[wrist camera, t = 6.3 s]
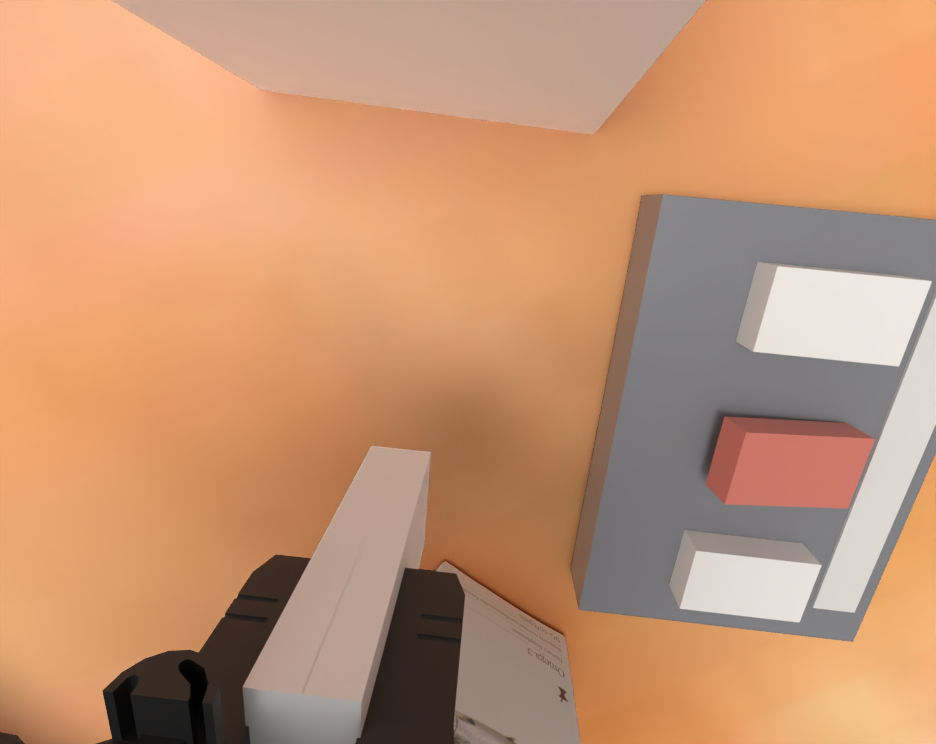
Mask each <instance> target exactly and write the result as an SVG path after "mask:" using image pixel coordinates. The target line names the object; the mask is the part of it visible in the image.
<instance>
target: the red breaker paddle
mask: <svg viewBox="0 0 936 744" xmlns="http://www.w3.org/2000/svg"><path fill="white" fill-rule="evenodd" d="M874 441H875V438H873V437H871V436H869V435H867V434H865V433H864V432H862V431H860V430H858V429H856V428H854V427H852V426H851V425H849V424H847V423H839V422H820V421H801V420H782V419H763V418H744V417H725V416H724V420H723V423H722V427H721V431H720V434H719V438H718V441H717V445H716V449H715V452H714V456H713V459H712V463H711V466H710V470H709V474H708V477H707V481H706V484H705V485H706V486H707V487H708V488H709V489H710V490H711V491H712V492H713V493H714V494H715V495H716V496H717V497H718V498H719V499H720V500H721V501H722V502H723V503H724V504H726V505H756V506H786V507H816V508H846V509H848V507H849V505H850V502H851V500H852V497H853V495H854V492H855V490H856V487H857V484H858V482H859V479H860V477H861V474H862V472H863V469H864V467H865V464H866V461H867V459H868V456H869V454H870V451H871V449H872V446H873V444H874Z"/></svg>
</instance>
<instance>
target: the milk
mask: <svg viewBox="0 0 936 744" xmlns="http://www.w3.org/2000/svg"><path fill="white" fill-rule="evenodd" d="M112 1H113V2H115V3H117V4H118V5H120V6H122V7H123V8H125V9H127V10H128V11H130V12H131V13H133V14H135V15H136V16H138V17H140V18H141V19H143V20H145V21H146V22H148V23H150V24H151V25H153V26H155V27H156V28H158V29H160V30H161V31H163V32H165V33H166V34H168V35H170V36H171V37H173V38H175V39H176V40H178V41H180V42H181V43H183V44H185V45H186V46H188V47H190V48H191V49H193V50H195V51H196V52H198V53H200V54H201V55H203V56H205V57H206V58H208V59H210V60H211V61H213V62H215V63H216V64H218V65H220V66H221V67H223V68H225V69H226V70H228V71H230V72H231V73H233V74H235V75H236V76H238V77H240V78H241V79H243V80H245V81H246V82H248V83H250V84H251V85H253V86H255V87H256V88H258V89H260V90H263V91H270V92H278V93H285V94H293V95H300V96H307V97H315V98H322V99H330V100H337V101H345V102H352V103H359V104H367V105H374V106H382V107H389V108H397V109H404V110H412V111H419V112H426V113H434V114H441V115H449V116H456V117H464V118H471V119H478V120H486V121H493V122H501V123H508V124H516V125H523V126H530V127H538V128H545V129H553V130H560V131H568V132H575V133H582V134H590V135H594V134H595V133H596V132H597V130H598V129H599V128H600V127H601V126H602V124H603V123H604V122H605V121H606V120H607V118H608V117H609V116H610V115H611V114H612V112H613V111H614V110H615V109H616V108H617V106H618V105H619V104H620V103H621V102H622V101H623V99H624V98H625V97H626V96H627V95H628V93H629V92H630V91H631V90H632V89H633V87H634V86H635V85H636V84H637V83H638V81H639V80H640V79H641V78H642V77H643V75H644V74H645V73H646V72H647V71H648V69H649V68H650V67H651V66H652V65H653V63H654V62H655V61H656V60H657V59H658V57H659V56H660V55H661V54H662V53H663V51H664V50H665V49H666V48H667V47H668V46H669V44H670V43H671V42H672V41H673V40H674V38H675V37H676V36H677V35H678V34H679V32H680V31H681V30H682V29H683V28H684V26H685V25H686V24H687V23H688V22H689V20H690V19H691V18H692V17H693V16H694V14H695V13H696V12H697V11H698V10H699V8H700V7H701V6H702V5H703V4H704V2H705V1H706V0H112Z"/></svg>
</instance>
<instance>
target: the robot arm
mask: <svg viewBox="0 0 936 744" xmlns="http://www.w3.org/2000/svg"><path fill="white" fill-rule="evenodd" d="M430 460H431V452H427V451H418V450H408V449H399V448H390V447H381V446H371V447H370V449H369V451H368V453H367V454H366V456H365V458H364V460H363V462H362V464H361V466H360V468H359V470H358V471H357V473H356V475H355V477H354V479H353V481H352V483H351V485H350V486H349V488H348V490H347V492H346V494H345V496H344V498H343V500H342V501H341V503H340V505H339V507H338V509H337V511H336V513H335V515H334V516H333V518H332V520H331V522H330V524H329V526H328V528H327V530H326V531H325V533H324V535H323V537H322V539H321V541H320V543H319V545H318V546H317V548H316V550H315V552H314V554H313V556H312V558H311V559H310V558H301V557H292V556H284V555H275V556H273V557H272V558H271V559H269V560H268V561H267V562H266V563H264V564H263V565H262V566H260V567H259V568H258V569H256V570H255V571H254V572H253V573H252V574H251V576H250V577H249V579H248V580H247V582H246V583H245V585H244V586H243V588H242V589H241V591H240V592H239V594H238V597H237V599H234V601H233V602H232V604H231V605H230V607H229V608H228V610H227V611H226V613H225V617H224V618H222V619H221V620H220V622H219V623H218V625H217V626H216V628H215V629H214V631H213V632H212V634H211V635H210V637H209V638H208V640H207V641H206V643H205V644H204V646H203V647H202V649H201V650H200V652H199V653H198V652H195V651H192V650H180V651H167V652H164V653H161V654H158V655H155V656H152V657H149V658H146V659H144V660H142V661H140V662H139V663H137V664H135V665H134V666H132V667H130V668H129V669H127V670H125V671H123V672H122V673H121V674H120V675H119V676H118V677H117V678H116V679H115V680H114V681H112V682H111V683H110V684H109V685H108V686H107V687H106V688H105V689H104V690H103V695H104V700H105V705H106V710H107V715H108V720H109V725H110V729H111V734H112V739H110V740H107V741H104V742H100V743H97V744H455V742H454V715H455V704H456V693H457V682H458V671H459V659H460V648H461V637H462V626H463V615H464V604H465V593H464V591H463V588H462V586H461V583H460V581H459V579H458V576H457V574H456V573H447V572H439V571H430V570H421V569H419V566H420V562H421V557H422V553H423V548H424V544H425V530H426V516H427V502H428V488H429V474H430ZM0 744H24V743H23V741H22V740H21V739H20V738H19V737H18V736H17V735H12V734H6V733H0Z"/></svg>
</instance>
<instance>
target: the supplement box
mask: <svg viewBox="0 0 936 744" xmlns="http://www.w3.org/2000/svg"><path fill="white" fill-rule="evenodd" d="M436 571H439V572H447V573H456V574H457V576H458V579H459V581H460V583H461V586H462V588H463V591H464V593H465V604H464V615H463V626H462V637H461V648H460V659H459V671H458V682H457V693H456V704H455V715H454V742H455V744H581V742H580V735H579V727H578V720H577V714H576V706H575V699H574V692H573V685H572V678H571V671H570V665H569V657H568V650H567V643H566V638H565V637H564V636H563V635H562V634H560V633H558V632H556V631H555V630H553V629H551V628H549V627H547V626H545V625H544V624H542V623H540V622H539V621H537V620H535V619H534V618H532V617H530V616H529V615H527V614H525V613H524V612H522V611H520V610H519V609H517V608H516V607H514V606H512V605H511V604H509V603H508V602H506V601H505V600H503V599H502V598H500V597H499V596H497V595H496V594H494V593H492V592H491V591H489V590H488V589H486V588H485V587H483V586H482V585H480V584H478V583H477V582H476V581H474V580H473V579H471V578H470V577H468V576H467V575H465V574H464V573H462V572H461V571H459V570H458V569H457V568H455V567H454V566H452V565H451V564H449V563H448V562H446V561H444V562H443V563H442V564H441V565H440V567H439V568H438V569H437V570H436Z"/></svg>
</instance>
